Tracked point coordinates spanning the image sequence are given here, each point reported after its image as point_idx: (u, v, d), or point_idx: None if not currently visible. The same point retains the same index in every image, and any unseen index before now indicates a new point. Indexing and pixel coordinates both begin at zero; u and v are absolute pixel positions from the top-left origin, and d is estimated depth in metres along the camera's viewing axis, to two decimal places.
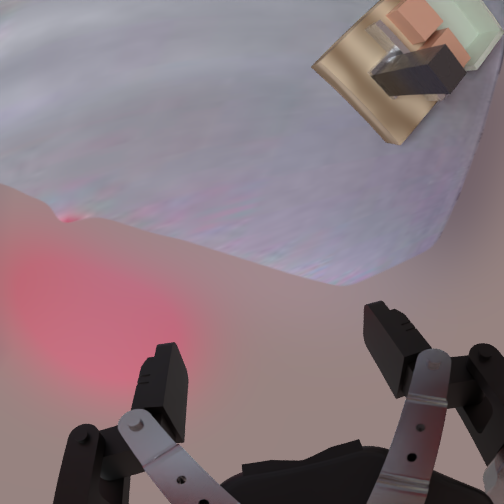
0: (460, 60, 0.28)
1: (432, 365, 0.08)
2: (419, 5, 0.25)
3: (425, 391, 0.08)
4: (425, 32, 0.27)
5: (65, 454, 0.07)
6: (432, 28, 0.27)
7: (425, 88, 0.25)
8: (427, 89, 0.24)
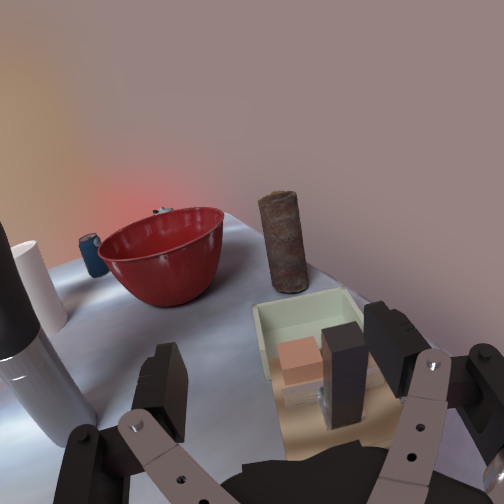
0: None
1: (432, 365, 0.08)
2: (289, 348, 0.40)
3: (425, 391, 0.08)
4: (315, 356, 0.37)
5: (65, 454, 0.07)
6: (315, 348, 0.39)
7: (359, 371, 0.27)
8: (361, 370, 0.27)
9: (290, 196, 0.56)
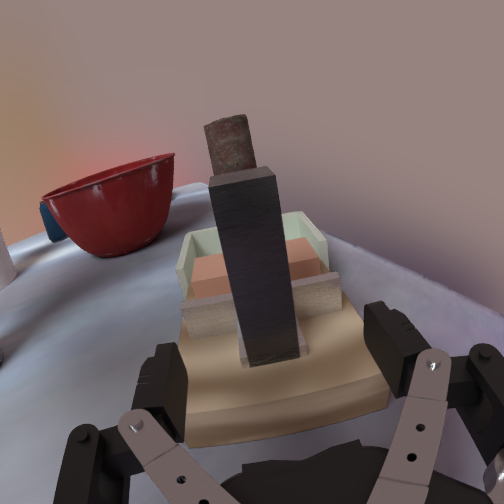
0: (300, 246, 0.30)
1: (432, 365, 0.08)
2: (209, 261, 0.30)
3: (425, 391, 0.08)
4: None
5: (65, 454, 0.07)
6: None
7: (270, 238, 0.17)
8: (272, 234, 0.17)
9: (237, 116, 0.47)
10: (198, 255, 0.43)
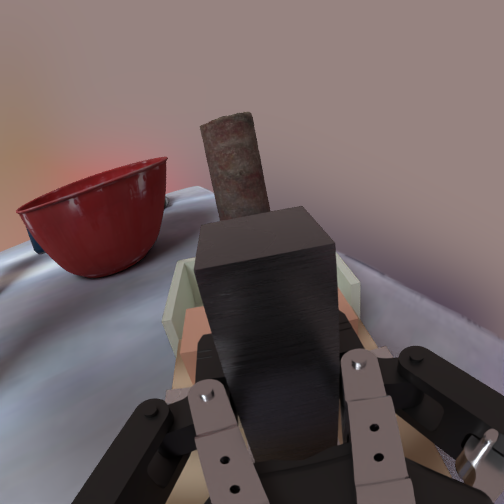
0: None
1: (355, 365, 0.09)
2: (205, 317, 0.22)
3: (342, 390, 0.09)
4: None
5: (126, 424, 0.08)
6: None
7: (314, 353, 0.09)
8: (319, 347, 0.09)
9: (241, 114, 0.38)
10: (193, 288, 0.35)
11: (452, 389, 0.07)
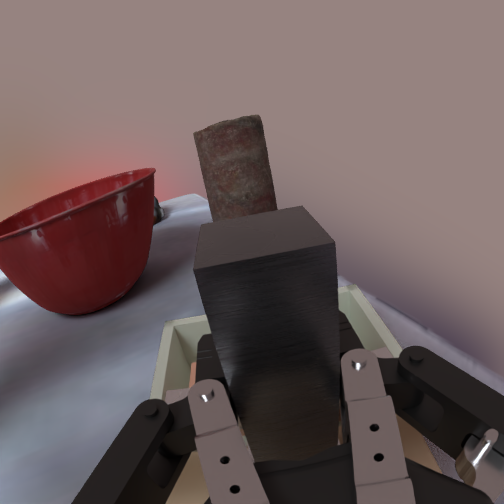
0: None
1: (355, 365, 0.09)
2: None
3: (342, 390, 0.09)
4: None
5: (126, 424, 0.08)
6: None
7: (314, 353, 0.09)
8: (319, 347, 0.09)
9: (247, 117, 0.29)
10: (187, 355, 0.26)
11: (451, 389, 0.07)
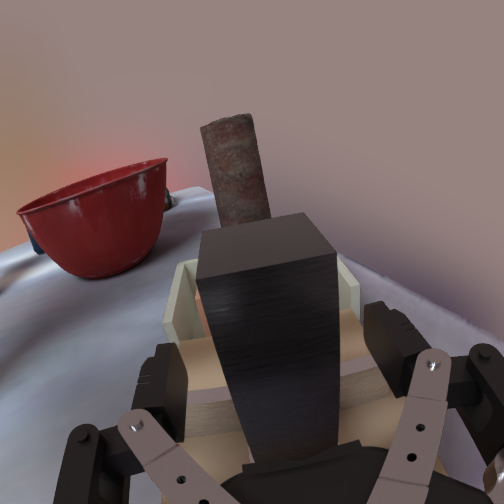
0: None
1: (432, 365, 0.08)
2: None
3: (425, 391, 0.08)
4: None
5: (65, 454, 0.07)
6: None
7: (315, 360, 0.09)
8: (320, 354, 0.09)
9: (241, 115, 0.38)
10: (193, 289, 0.35)
11: None
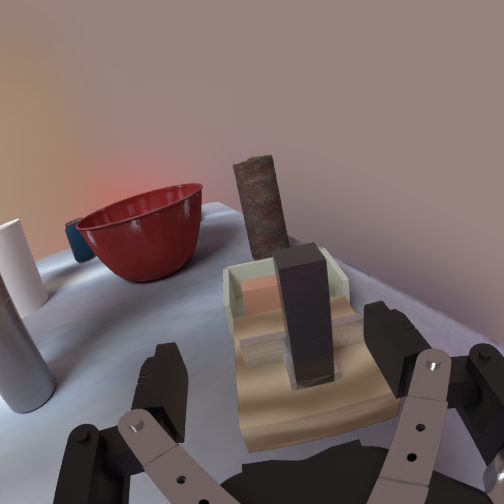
0: None
1: (432, 365, 0.08)
2: None
3: (425, 391, 0.08)
4: None
5: (65, 454, 0.07)
6: None
7: (320, 302, 0.23)
8: (321, 299, 0.23)
9: (264, 157, 0.53)
10: (234, 287, 0.49)
11: None
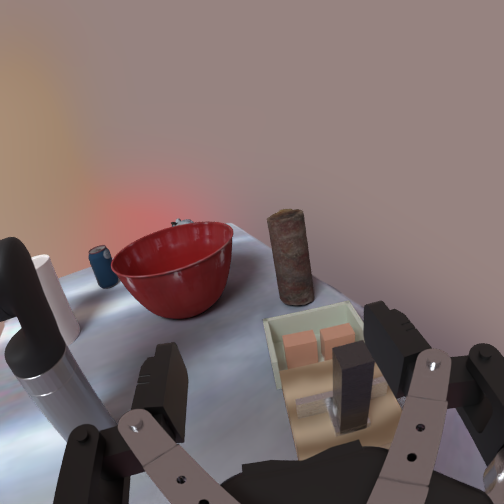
0: None
1: (432, 365, 0.08)
2: None
3: (425, 391, 0.08)
4: None
5: (65, 454, 0.07)
6: None
7: (365, 384, 0.30)
8: (367, 383, 0.30)
9: (298, 215, 0.59)
10: (271, 335, 0.56)
11: None
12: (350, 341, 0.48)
